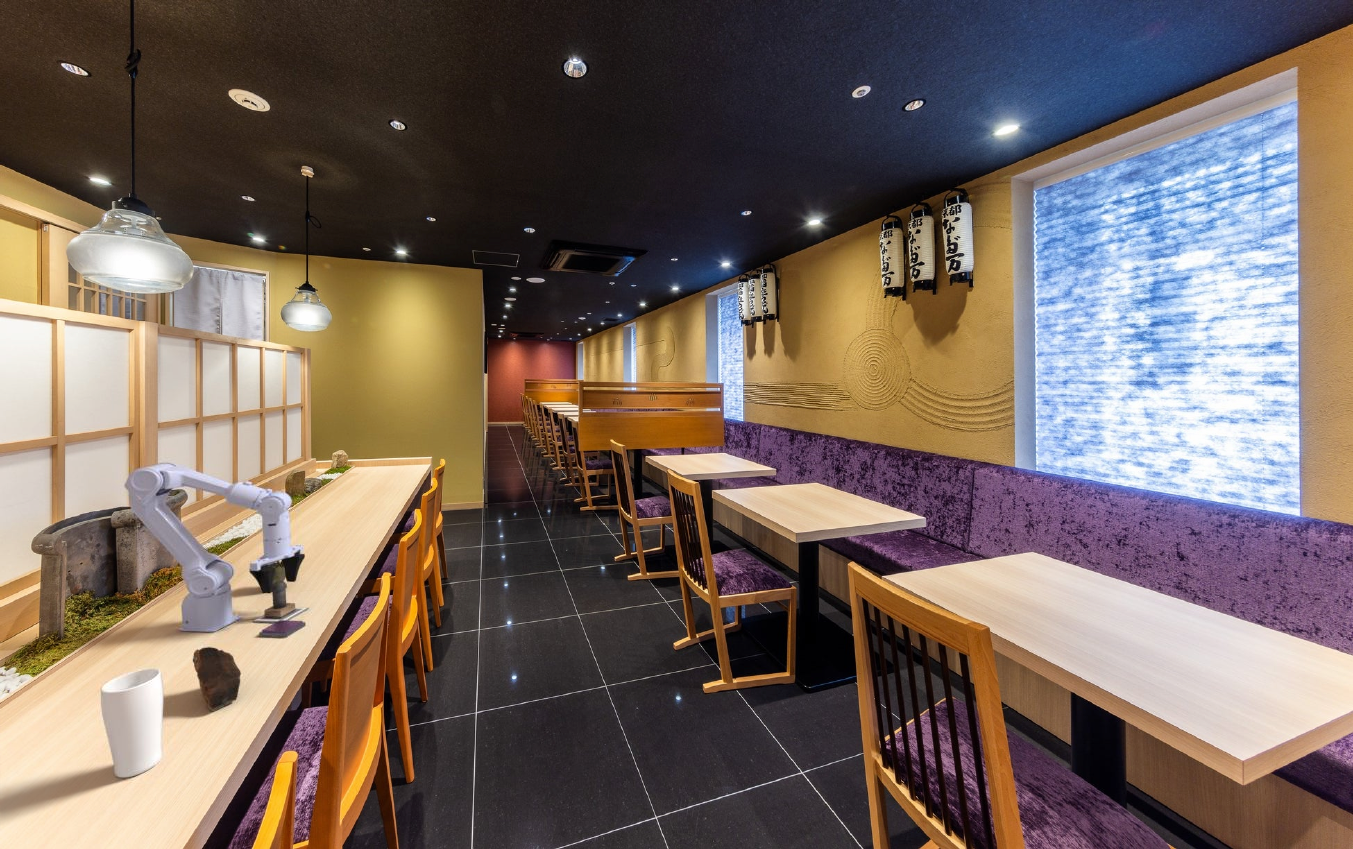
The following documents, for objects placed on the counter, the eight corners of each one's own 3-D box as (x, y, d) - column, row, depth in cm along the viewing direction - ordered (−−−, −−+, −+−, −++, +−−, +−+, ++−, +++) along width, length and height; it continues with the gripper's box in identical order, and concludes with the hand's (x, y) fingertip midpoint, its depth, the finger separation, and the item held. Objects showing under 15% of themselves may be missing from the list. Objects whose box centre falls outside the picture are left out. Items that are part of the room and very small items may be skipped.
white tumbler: (163, 745, 86) (156, 663, 85) (173, 763, 82) (166, 676, 81) (104, 770, 80) (96, 682, 79) (111, 790, 76) (103, 698, 75)
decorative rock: (192, 693, 100) (188, 642, 100) (231, 679, 105) (228, 630, 104) (204, 717, 93) (200, 662, 92) (246, 701, 98) (242, 649, 97)
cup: (270, 595, 147) (269, 569, 146) (250, 593, 148) (249, 567, 147) (294, 585, 154) (293, 560, 153) (275, 583, 155) (274, 558, 155)
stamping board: (252, 622, 130) (252, 620, 130) (280, 608, 138) (280, 606, 138) (283, 623, 130) (283, 621, 130) (308, 608, 138) (308, 607, 138)
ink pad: (259, 636, 123) (258, 630, 123) (279, 624, 129) (279, 619, 129) (286, 637, 123) (285, 631, 122) (305, 625, 128) (305, 620, 128)
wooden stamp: (264, 618, 132) (262, 584, 131) (279, 610, 136) (277, 577, 135) (281, 618, 131) (278, 584, 131) (295, 610, 136) (293, 578, 135)
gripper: (267, 546, 125) (270, 598, 126) (312, 530, 139) (314, 577, 140) (240, 546, 125) (243, 597, 126) (288, 529, 140) (291, 576, 141)
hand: (279, 586), depth 133 cm, fingers open, 7 cm apart
